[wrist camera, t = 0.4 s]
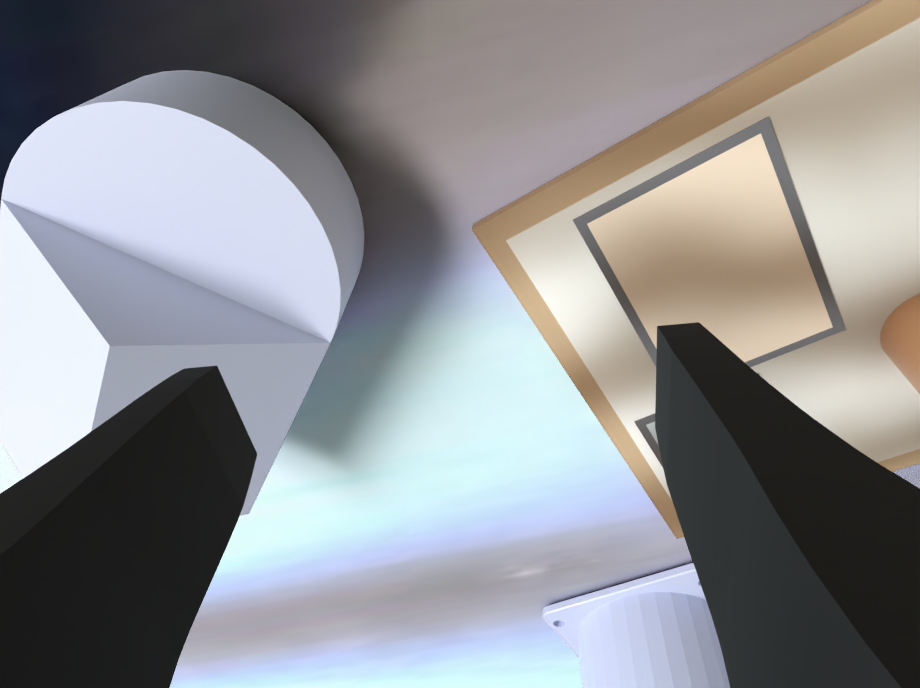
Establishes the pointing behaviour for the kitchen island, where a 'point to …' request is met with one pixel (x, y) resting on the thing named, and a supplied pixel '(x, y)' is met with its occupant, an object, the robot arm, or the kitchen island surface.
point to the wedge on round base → (169, 260)
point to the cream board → (743, 242)
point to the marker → (904, 339)
